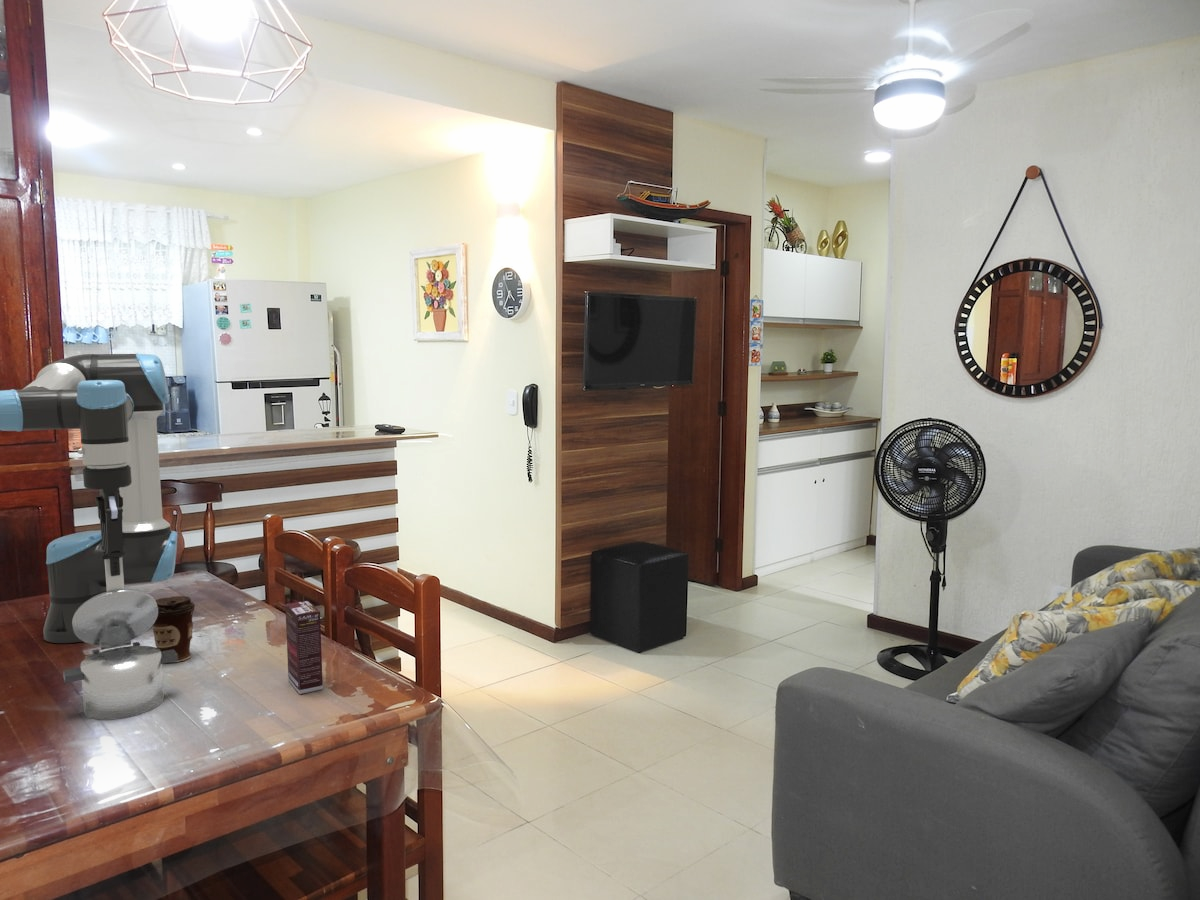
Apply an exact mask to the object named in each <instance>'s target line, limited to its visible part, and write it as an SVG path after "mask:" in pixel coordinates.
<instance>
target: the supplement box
mask: <svg viewBox="0 0 1200 900" xmlns="http://www.w3.org/2000/svg"><path fill="white" fill-rule="evenodd" d="M285 624H286V625H285V626H286V628H285V629H286V648H287V649H286V651H287V653H286V654H287V655H286V656H287V677H288V682H289V683H290V685H292V687H293V688H294V689H295V691H296V692H297V693H298V694H299V695H301V694H302V695H303V694H307V693H313V692H318V691H321V690H323V689H324V685H323V683H324V682H323V659H322V658H323V657H322V655H323V654H322V630H321V629H322V628H321V625H322V624H321V611H320V610H319V609H318V608H317V607H316V606H315V605H314V604H313V603H311V602H310V601H309V600H303V601H302V600H301V601H297V602H292V603H291V602H290V603H286V604H285Z"/></svg>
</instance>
